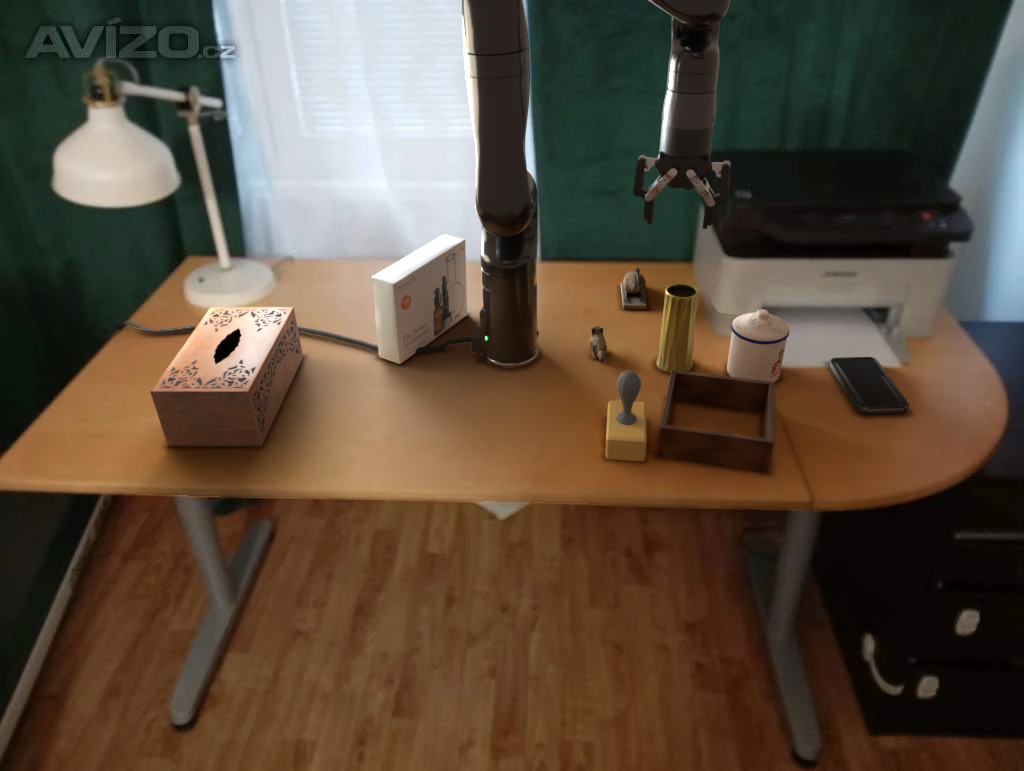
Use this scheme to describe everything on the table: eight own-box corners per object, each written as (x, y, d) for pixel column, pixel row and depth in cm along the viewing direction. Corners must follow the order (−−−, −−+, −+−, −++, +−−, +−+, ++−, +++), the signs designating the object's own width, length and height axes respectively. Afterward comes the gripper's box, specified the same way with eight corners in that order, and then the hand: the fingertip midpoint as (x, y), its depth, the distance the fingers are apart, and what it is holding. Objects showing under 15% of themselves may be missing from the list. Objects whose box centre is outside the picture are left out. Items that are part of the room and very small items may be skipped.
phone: (861, 409, 126) (828, 357, 138) (859, 415, 126) (827, 363, 139) (912, 407, 126) (875, 356, 138) (910, 413, 126) (874, 362, 139)
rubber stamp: (607, 419, 127) (610, 353, 121) (644, 421, 127) (650, 355, 120) (605, 458, 119) (608, 390, 113) (645, 461, 119) (651, 392, 112)
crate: (657, 457, 119) (659, 427, 116) (668, 398, 132) (671, 369, 129) (768, 473, 116) (774, 442, 113) (769, 411, 128) (774, 381, 125)
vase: (697, 361, 141) (707, 287, 133) (684, 378, 136) (692, 302, 128) (664, 352, 143) (671, 278, 136) (650, 368, 139) (656, 293, 131)
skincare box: (402, 366, 142) (392, 283, 133) (378, 358, 144) (367, 276, 135) (471, 315, 156) (466, 237, 148) (447, 308, 159) (441, 231, 150)
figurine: (648, 320, 153) (651, 278, 148) (624, 320, 153) (626, 278, 149) (642, 286, 165) (645, 246, 160) (620, 286, 165) (622, 246, 160)
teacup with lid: (782, 390, 133) (794, 327, 126) (724, 384, 135) (733, 322, 128) (779, 352, 142) (790, 292, 136) (725, 347, 144) (733, 288, 138)
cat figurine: (602, 340, 146) (604, 323, 144) (609, 371, 141) (611, 354, 138) (587, 341, 146) (588, 324, 143) (593, 372, 141) (595, 355, 138)
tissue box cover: (261, 446, 124) (248, 391, 118) (167, 445, 124) (150, 391, 119) (303, 356, 145) (293, 306, 140) (223, 356, 146) (210, 307, 140)
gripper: (739, 115, 121) (725, 219, 130) (642, 110, 124) (635, 211, 133) (737, 130, 115) (722, 238, 124) (635, 124, 118) (628, 229, 127)
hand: (677, 224), depth 128 cm, fingers open, 8 cm apart
